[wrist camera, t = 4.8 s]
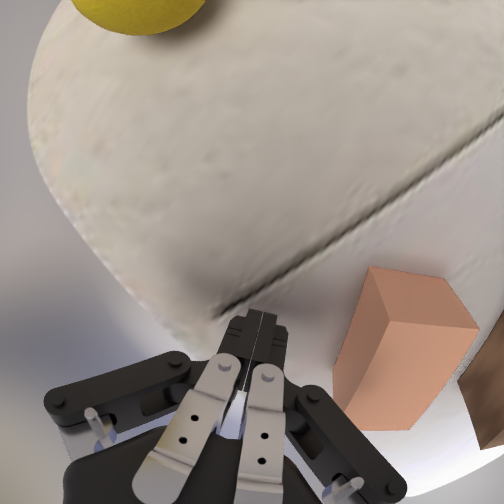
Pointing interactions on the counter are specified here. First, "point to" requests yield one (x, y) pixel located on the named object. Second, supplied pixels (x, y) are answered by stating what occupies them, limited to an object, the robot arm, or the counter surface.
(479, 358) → the walnut plank
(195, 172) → the counter surface
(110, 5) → the lemon
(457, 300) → the terracotta block
